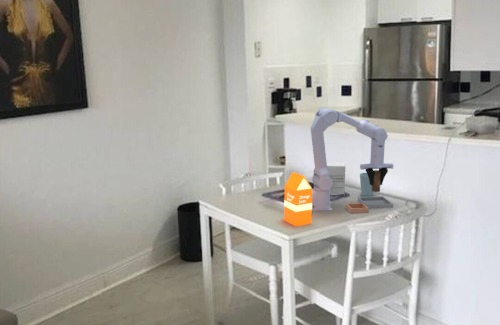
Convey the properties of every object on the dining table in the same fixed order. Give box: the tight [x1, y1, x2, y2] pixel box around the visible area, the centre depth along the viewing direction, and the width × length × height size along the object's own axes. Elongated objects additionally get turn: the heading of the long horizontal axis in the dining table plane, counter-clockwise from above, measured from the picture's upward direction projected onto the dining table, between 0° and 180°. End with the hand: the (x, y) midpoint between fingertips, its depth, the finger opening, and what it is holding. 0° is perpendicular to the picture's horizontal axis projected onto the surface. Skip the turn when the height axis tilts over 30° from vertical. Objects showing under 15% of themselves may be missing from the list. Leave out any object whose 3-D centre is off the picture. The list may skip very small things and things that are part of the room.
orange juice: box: [283, 171, 313, 227], centre depth 210 cm, size 8×9×20 cm
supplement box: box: [326, 161, 346, 195], centre depth 251 cm, size 9×9×15 cm
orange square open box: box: [344, 202, 370, 214], centre depth 225 cm, size 8×8×3 cm
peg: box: [372, 169, 381, 193], centre depth 231 cm, size 4×4×9 cm
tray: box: [357, 196, 394, 209], centre depth 234 cm, size 12×12×2 cm
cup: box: [359, 172, 375, 197], centre depth 248 cm, size 8×8×10 cm
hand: (375, 184), depth 232 cm, fingers closed on peg, 4 cm apart
